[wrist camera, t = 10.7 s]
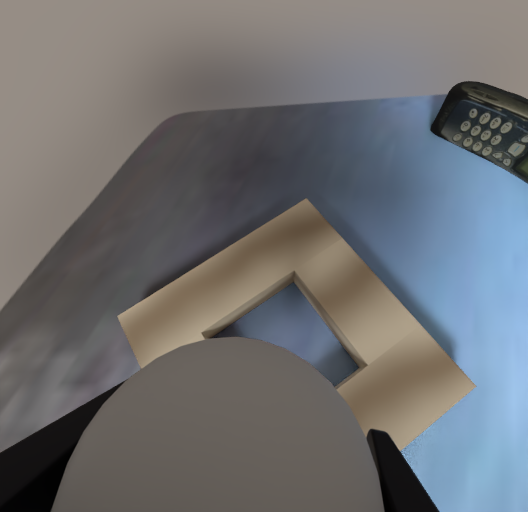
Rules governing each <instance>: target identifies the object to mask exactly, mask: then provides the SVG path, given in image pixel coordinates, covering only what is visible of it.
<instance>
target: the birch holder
mask: <svg viewBox="0 0 528 512" xmlns="http://www.w3.org/2000/svg"><path fill="white" fill-rule="evenodd" d="M293 282H294V283H295V284H296V285H297V287H298V288H299V289H300V291H301V292H302V293H303V295H304V296H305V297H306V299H307V300H308V301H309V302H310V304H311V305H312V306H313V308H314V309H315V310H316V312H317V313H318V314H319V316H320V317H321V318H322V320H323V321H324V322H325V323H326V325H327V326H328V327H329V329H330V330H331V331H332V333H333V334H334V335H335V337H336V338H337V339H338V340H339V342H340V343H341V344H342V346H343V347H344V348H345V350H346V351H347V352H348V354H349V355H350V356H351V358H352V359H353V360H354V361H355V363H356V364H357V365H358V367H359V368H358V369H357V370H356V371H355V372H353V373H352V374H351V375H349V376H348V377H347V378H345V379H344V380H343V381H342V382H340V383H339V384H338V385H336V386H335V388H336V390H337V391H338V392H339V394H340V395H341V396H342V397H343V399H344V400H345V401H346V403H347V404H348V405H349V406H350V408H351V410H352V412H353V414H354V416H355V418H356V420H357V421H358V423H359V425H360V427H361V429H362V431H363V433H364V434H365V436H366V437H367V434H368V431H369V430H370V429H372V428H373V429H377V430H382V431H385V432H387V433H388V434H389V435H390V437H391V438H392V440H393V441H394V443H395V444H396V446H397V448H398V449H399V451H401V450H402V449H403V448H405V447H406V446H407V445H408V444H409V443H410V442H412V441H413V440H414V439H415V438H416V437H417V436H419V435H420V434H421V433H422V432H423V431H424V430H426V429H427V428H428V427H429V426H430V425H432V424H433V423H434V422H435V421H436V420H437V419H439V418H440V417H441V416H442V415H443V414H444V413H446V412H447V411H448V410H449V409H450V408H451V407H453V406H454V405H455V404H456V403H457V402H458V401H460V400H461V399H462V398H463V397H464V396H466V395H467V394H468V393H469V392H470V391H471V390H473V389H474V388H475V387H476V385H475V384H474V383H473V382H472V381H471V380H470V379H469V378H468V377H467V375H466V374H465V373H464V372H463V371H462V370H461V369H460V368H459V367H458V365H457V364H456V363H455V362H454V361H453V360H452V359H451V358H450V357H449V355H448V354H447V353H446V352H445V351H444V350H443V349H442V348H441V347H440V346H439V344H438V343H437V342H436V341H435V340H434V339H433V338H432V337H431V336H430V334H429V333H428V332H427V331H426V330H425V329H424V328H423V327H422V326H421V324H420V323H419V322H418V321H417V320H416V319H415V318H414V317H413V316H412V315H411V313H410V312H409V311H408V310H407V309H406V308H405V307H404V306H403V305H402V303H401V302H400V301H399V300H398V299H397V298H396V297H395V296H394V295H393V293H392V292H391V291H390V290H389V289H388V288H387V287H386V286H385V285H384V284H383V282H382V281H381V280H380V279H379V278H378V277H377V276H376V275H375V274H374V272H373V271H372V270H371V269H370V268H369V267H368V266H367V265H366V264H365V263H364V261H363V260H362V259H361V258H360V257H359V256H358V255H357V254H356V253H355V251H354V250H353V249H352V248H351V247H350V246H349V245H348V244H347V243H346V241H345V240H344V239H343V238H342V237H341V236H340V235H339V234H338V233H337V232H336V230H335V229H334V228H333V227H332V226H331V225H330V224H329V223H328V222H327V220H326V219H325V218H324V217H323V216H322V215H321V214H320V213H319V212H318V210H317V209H316V208H315V207H314V206H313V205H312V204H311V203H310V202H309V201H308V199H307V198H306V199H304V200H303V201H301V202H299V203H298V204H296V205H295V206H293V207H291V208H290V209H288V210H287V211H285V212H283V213H282V214H280V215H279V216H277V217H275V218H274V219H272V220H271V221H269V222H267V223H266V224H264V225H263V226H261V227H259V228H258V229H256V230H255V231H253V232H251V233H250V234H248V235H247V236H245V237H243V238H242V239H240V240H239V241H237V242H235V243H234V244H232V245H231V246H229V247H227V248H226V249H224V250H223V251H221V252H219V253H218V254H216V255H215V256H213V257H211V258H210V259H208V260H207V261H205V262H203V263H202V264H200V265H199V266H197V267H195V268H194V269H192V270H191V271H189V272H187V273H186V274H184V275H183V276H181V277H179V278H178V279H176V280H175V281H173V282H171V283H170V284H168V285H167V286H165V287H163V288H162V289H160V290H159V291H157V292H155V293H154V294H152V295H151V296H149V297H147V298H146V299H144V300H143V301H141V302H139V303H138V304H136V305H135V306H133V307H131V308H130V309H128V310H127V311H125V312H123V313H122V314H120V315H119V316H117V317H118V319H119V321H120V323H121V326H122V328H123V330H124V332H125V334H126V336H127V339H128V341H129V343H130V345H131V347H132V350H133V352H134V354H135V356H136V358H137V361H138V363H139V365H140V367H141V369H142V368H143V367H145V366H146V365H148V364H149V363H150V362H152V361H153V360H154V359H156V358H158V357H160V356H162V355H164V354H166V353H168V352H170V351H172V350H174V349H176V348H178V347H180V346H183V345H187V344H191V343H194V342H198V341H202V340H205V339H210V338H211V337H213V336H214V335H216V334H217V333H219V332H220V331H222V330H223V329H225V328H226V327H228V326H229V325H231V324H232V323H234V322H235V321H237V320H238V319H240V318H241V317H242V316H244V315H245V314H247V313H248V312H250V311H251V310H253V309H254V308H256V307H257V306H259V305H260V304H262V303H263V302H265V301H266V300H268V299H269V298H271V297H272V296H274V295H275V294H277V293H278V292H279V291H281V290H282V289H284V288H285V287H287V286H288V285H290V284H291V283H293Z"/></svg>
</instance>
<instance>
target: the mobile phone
mask: <svg viewBox="0 0 528 512" xmlns="http://www.w3.org/2000/svg"><path fill="white" fill-rule="evenodd" d="M431 131H432V132H433V133H434V134H435V135H437V136H439V137H441V138H443V139H445V140H447V141H449V142H451V143H453V144H455V145H457V146H460V147H462V148H464V149H466V150H468V151H470V152H472V153H474V154H476V155H478V156H480V157H482V158H484V159H486V160H488V161H490V162H492V163H494V164H495V165H497V166H499V167H501V168H503V169H505V170H507V171H508V172H510V173H512V174H513V175H515V176H517V177H518V178H520V179H522V180H523V181H524V182H526V183H528V99H526V98H524V97H522V96H519V95H517V94H514V93H510V92H507V91H504V90H502V89H499V88H496V87H494V86H491V85H488V84H484V83H480V82H472V81H468V82H467V81H466V82H461V83H458V84H456V85H455V86H454V87H452V89H451V90H450V91H449V93H448V95H447V97H446V99H445V101H444V103H443V105H442V107H441V109H440V111H439V113H438V114H437V116H436V118H435V120H434V122H433V124H432V126H431Z"/></svg>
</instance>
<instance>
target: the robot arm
mask: <svg viewBox="0 0 528 512" xmlns="http://www.w3.org/2000/svg"><path fill="white" fill-rule="evenodd" d="M127 380H128V379H127ZM125 381H126V380H125ZM125 381H124V382H125ZM124 382H122V383H120V384H118V385H117V386H115V387H113V388H111V389H110V390H108V391H106V392H105V393H103V394H101V395H99V396H98V397H96V398H94V399H92V400H91V401H89V402H87V403H86V404H84V405H82V406H80V407H79V408H77V409H75V410H73V411H72V412H70V413H68V414H66V415H65V416H63V417H61V418H60V419H58V420H56V421H54V422H53V423H51V424H49V425H47V426H46V427H44V428H42V429H41V430H39V431H37V432H35V433H34V434H32V435H30V436H28V437H27V438H25V439H23V440H22V441H20V442H18V443H16V444H15V445H13V446H11V447H9V448H8V449H6V450H4V451H2V452H1V453H0V512H51V510H52V507H53V504H54V501H55V498H56V495H57V492H58V489H59V486H60V483H61V480H62V477H63V475H64V472H65V469H66V466H67V463H68V461H69V459H70V457H71V455H72V453H73V451H74V450H75V448H76V446H77V444H78V442H79V440H80V438H81V436H82V434H83V432H84V430H85V429H86V428H87V426H88V425H89V423H90V422H91V421H92V419H93V418H94V416H95V415H96V413H97V412H98V411H99V409H100V408H101V406H102V405H103V404H104V403H105V402H106V401H107V400H108V399H109V398H110V397H111V396H112V395H113V393H114V392H115V391H116V390H117V389H118V388H119V387H120V386H121V385H122V384H123V383H124ZM366 439H367V442H368V445H369V448H370V451H371V454H372V457H373V460H374V463H375V466H376V469H377V472H378V476H379V481H380V487H381V493H382V499H383V505H384V511H385V512H439V510H438V509H437V507H436V505H435V504H434V502H433V501H432V499H431V498H430V496H429V495H428V493H427V492H426V490H425V489H424V487H423V486H422V484H421V483H420V481H419V480H418V478H417V476H416V475H415V473H414V472H413V470H412V469H411V467H410V466H409V464H408V463H407V461H406V460H405V458H404V457H403V455H402V454H401V452H400V451H399V449H398V448H397V446H396V444H395V443H394V441H393V440H392V438H391V437H390V435H389V434H388V433H387V432H385V431H382V430H377V429H373V428H372V429H370V430H369V431H368V434H367V437H366Z"/></svg>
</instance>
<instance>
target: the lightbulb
mask: <svg viewBox="0 0 528 512" xmlns="http://www.w3.org/2000/svg"><path fill="white" fill-rule="evenodd" d="M51 512H385V511H384V505H383V499H382V493H381V487H380V481H379V476H378V472H377V469H376V466H375V463H374V460H373V457H372V454H371V451H370V448H369V445H368V442H367V439H366V436H365V434H364V433H363V431H362V429H361V427H360V425H359V423H358V421H357V420H356V418H355V416H354V414H353V412H352V410H351V408H350V406H349V405H348V404H347V403H346V401H345V400H344V399H343V397H342V396H341V395H340V394H339V392H338V391H337V390H336V388H335V387H334V386H333V385H332V383H331V382H330V381H329V380H328V379H327V378H325V377H324V376H323V375H322V374H321V373H320V372H319V371H318V370H316V369H315V368H314V367H313V366H312V365H311V364H310V363H308V362H307V361H305V360H303V359H302V358H300V357H298V356H297V355H295V354H293V353H292V352H290V351H288V350H287V349H285V348H282V347H279V346H276V345H274V344H271V343H268V342H265V341H262V340H256V339H249V338H242V337H225V338H211V339H205V340H202V341H198V342H194V343H191V344H187V345H183V346H180V347H178V348H176V349H174V350H172V351H170V352H168V353H166V354H164V355H162V356H160V357H158V358H156V359H154V360H153V361H152V362H150V363H149V364H148V365H146V366H145V367H143V368H142V369H141V370H139V371H138V372H137V373H135V374H134V375H133V376H131V377H130V378H129V379H128V380H126V381H125V382H124V383H123V384H122V385H121V386H120V387H119V388H118V389H117V390H116V391H115V392H114V393H113V395H112V396H111V397H110V398H109V399H108V400H107V401H106V402H105V403H104V404H103V405H102V406H101V408H100V409H99V411H98V412H97V413H96V415H95V416H94V418H93V419H92V421H91V422H90V423H89V425H88V426H87V428H86V429H85V430H84V432H83V434H82V436H81V438H80V440H79V442H78V444H77V446H76V448H75V450H74V451H73V453H72V455H71V457H70V459H69V461H68V463H67V466H66V469H65V472H64V475H63V477H62V480H61V483H60V486H59V489H58V492H57V495H56V498H55V501H54V504H53V507H52V510H51Z"/></svg>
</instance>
